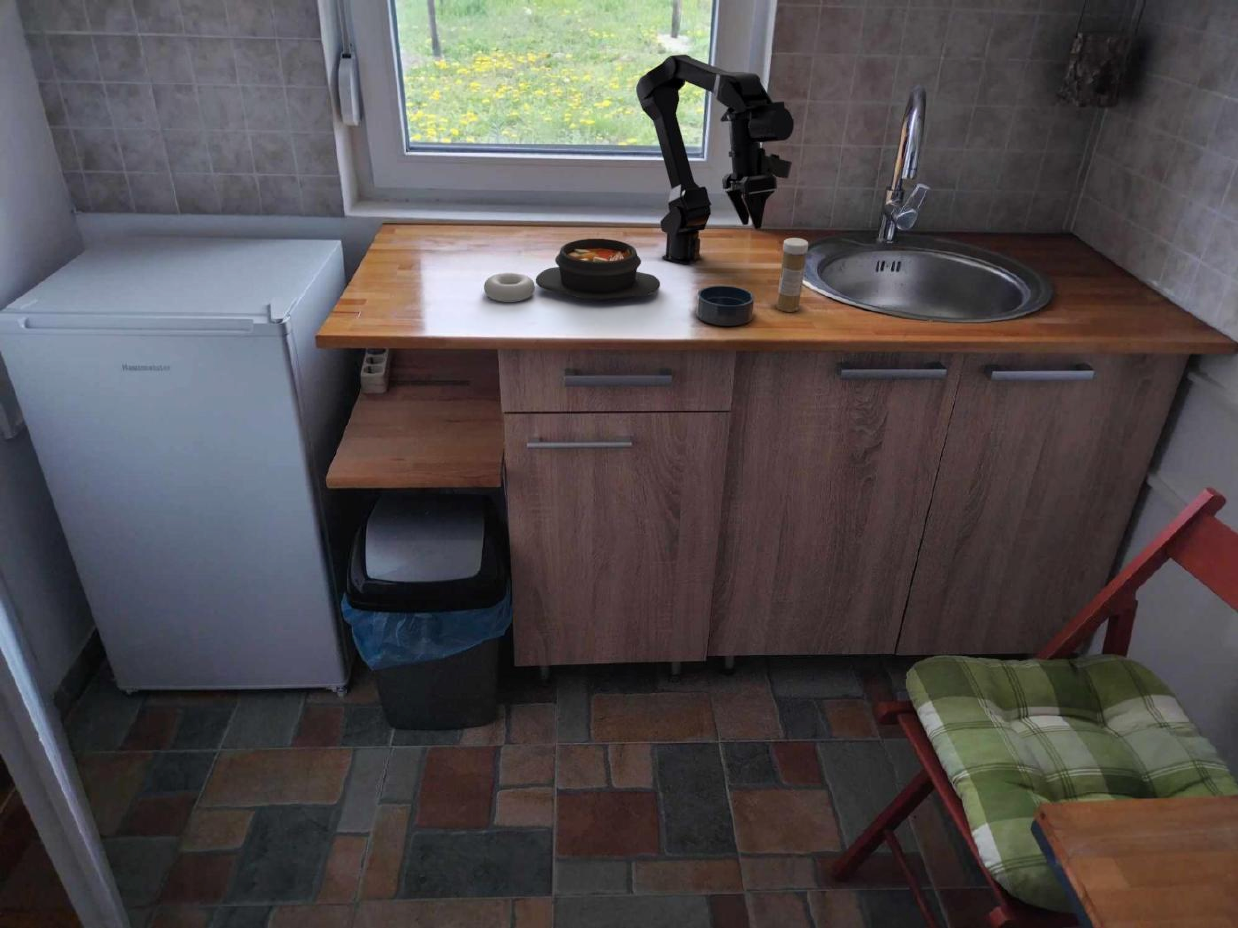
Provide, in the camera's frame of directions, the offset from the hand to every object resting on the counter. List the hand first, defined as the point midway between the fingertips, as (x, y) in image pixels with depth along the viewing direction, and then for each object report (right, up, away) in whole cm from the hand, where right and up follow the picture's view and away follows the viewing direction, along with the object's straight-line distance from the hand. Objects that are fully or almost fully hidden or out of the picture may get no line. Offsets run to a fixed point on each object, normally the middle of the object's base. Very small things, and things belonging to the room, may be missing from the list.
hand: (751, 226), depth 182 cm
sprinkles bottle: (+6, -17, -3) cm, 19 cm away
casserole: (-31, -12, +2) cm, 33 cm away
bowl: (-6, -19, -8) cm, 22 cm away
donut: (-48, -14, -1) cm, 50 cm away
